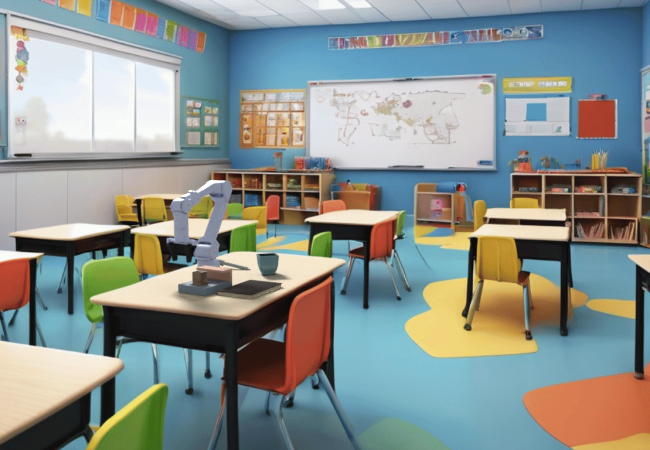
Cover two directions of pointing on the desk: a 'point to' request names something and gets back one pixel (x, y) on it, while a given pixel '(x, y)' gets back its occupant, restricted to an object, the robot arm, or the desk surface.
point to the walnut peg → (199, 278)
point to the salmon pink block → (217, 272)
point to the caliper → (232, 265)
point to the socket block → (204, 287)
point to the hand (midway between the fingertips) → (181, 261)
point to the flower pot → (267, 263)
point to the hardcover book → (249, 289)
